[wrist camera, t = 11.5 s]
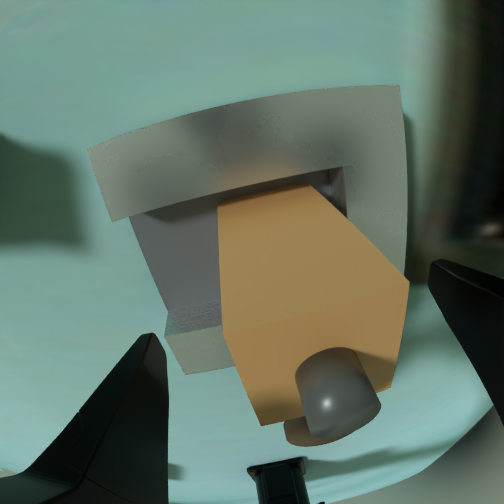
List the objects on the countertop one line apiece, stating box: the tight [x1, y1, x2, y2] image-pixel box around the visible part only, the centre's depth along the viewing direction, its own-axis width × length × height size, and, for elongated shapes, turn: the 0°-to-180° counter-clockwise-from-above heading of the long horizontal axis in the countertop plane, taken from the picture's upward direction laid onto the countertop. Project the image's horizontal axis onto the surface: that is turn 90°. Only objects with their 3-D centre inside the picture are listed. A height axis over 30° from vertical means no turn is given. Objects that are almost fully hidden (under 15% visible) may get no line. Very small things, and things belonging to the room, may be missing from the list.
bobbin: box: [284, 416, 354, 447], centre depth 17 cm, size 6×6×5 cm
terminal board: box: [87, 85, 407, 375], centre depth 13 cm, size 12×12×2 cm
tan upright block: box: [217, 182, 410, 438], centre depth 9 cm, size 4×4×10 cm
